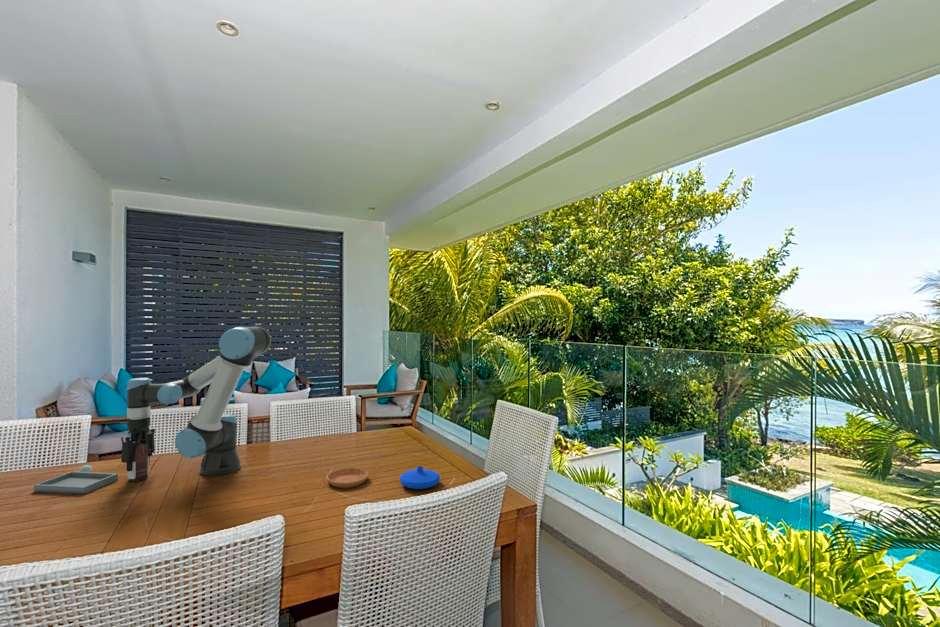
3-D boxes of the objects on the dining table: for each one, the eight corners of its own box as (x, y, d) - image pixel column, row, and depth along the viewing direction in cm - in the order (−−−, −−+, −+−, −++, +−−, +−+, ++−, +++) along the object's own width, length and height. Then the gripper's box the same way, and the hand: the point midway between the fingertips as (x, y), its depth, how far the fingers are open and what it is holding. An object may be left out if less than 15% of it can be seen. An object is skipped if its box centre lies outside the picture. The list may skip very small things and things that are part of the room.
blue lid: (407, 496, 162) (407, 477, 162) (394, 481, 176) (394, 464, 176) (446, 488, 170) (446, 470, 170) (430, 475, 184) (431, 458, 184)
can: (137, 482, 173) (138, 446, 173) (124, 481, 174) (124, 445, 174) (151, 476, 179) (152, 442, 179) (138, 475, 180) (139, 441, 180)
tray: (117, 480, 175) (117, 473, 175) (83, 494, 161) (83, 487, 161) (71, 477, 177) (71, 471, 177) (34, 491, 163) (34, 484, 163)
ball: (94, 472, 182) (94, 464, 182) (85, 476, 179) (85, 467, 179) (86, 472, 183) (86, 463, 183) (77, 475, 179) (77, 466, 179)
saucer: (375, 477, 181) (375, 470, 181) (353, 492, 166) (353, 484, 166) (342, 472, 186) (342, 465, 186) (317, 486, 171) (317, 479, 171)
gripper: (149, 411, 186) (148, 467, 186) (108, 422, 167) (108, 484, 167) (166, 412, 185) (165, 467, 185) (127, 423, 166) (126, 485, 167)
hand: (138, 475), depth 176 cm, fingers open, 6 cm apart
